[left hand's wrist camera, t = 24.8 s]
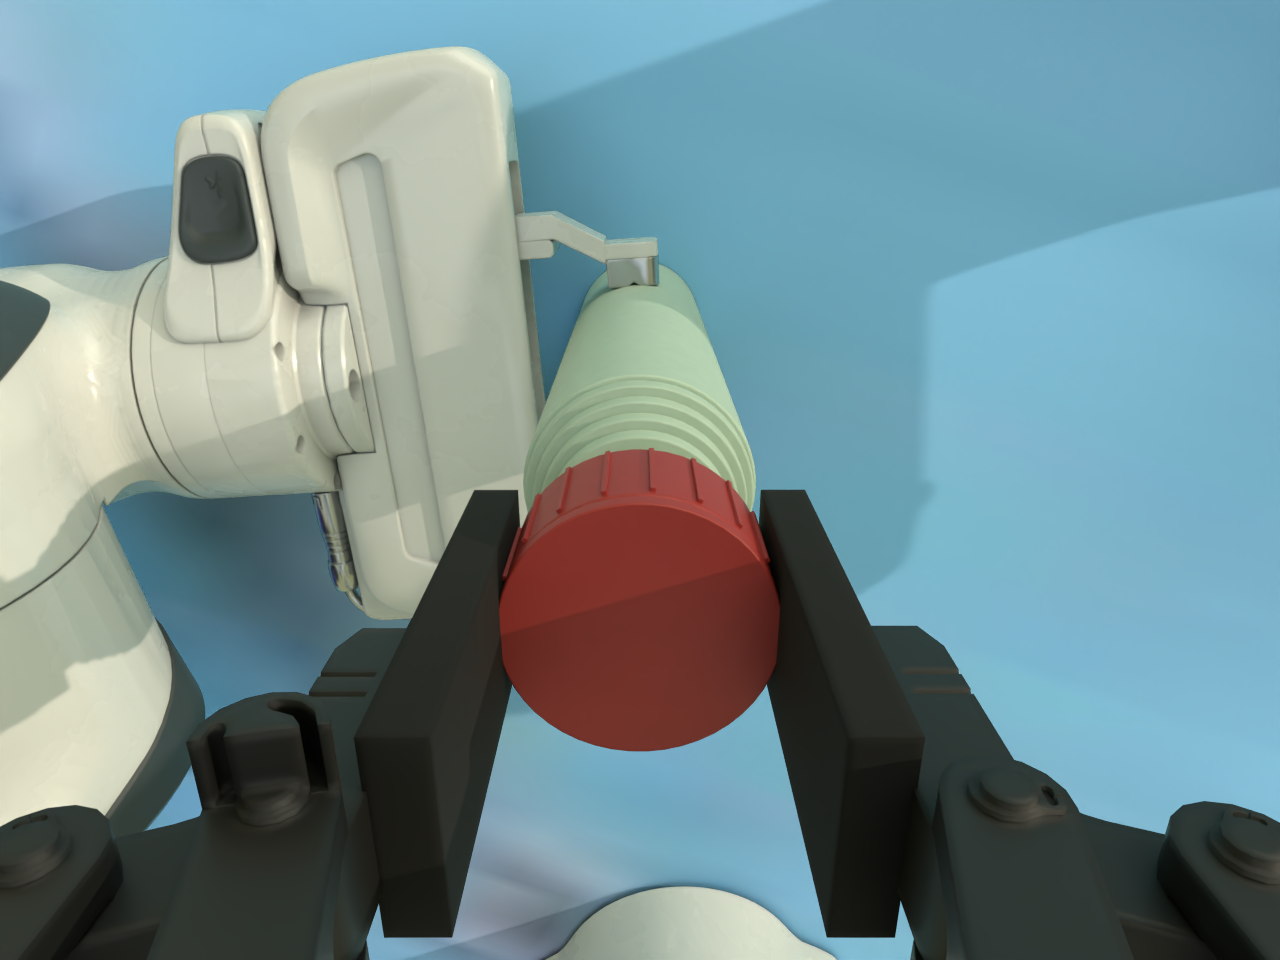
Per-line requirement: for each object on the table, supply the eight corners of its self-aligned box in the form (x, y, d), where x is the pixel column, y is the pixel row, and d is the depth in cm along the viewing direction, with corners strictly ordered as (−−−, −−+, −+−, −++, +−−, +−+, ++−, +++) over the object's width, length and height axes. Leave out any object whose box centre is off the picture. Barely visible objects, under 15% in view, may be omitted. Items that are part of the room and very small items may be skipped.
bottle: (567, 357, 37) (449, 695, 14) (600, 244, 35) (526, 417, 12) (676, 390, 37) (734, 767, 14) (713, 281, 35) (846, 512, 13)
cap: (485, 629, 15) (458, 710, 13) (556, 409, 14) (541, 458, 11) (710, 696, 16) (721, 785, 14) (803, 491, 14) (834, 554, 12)
